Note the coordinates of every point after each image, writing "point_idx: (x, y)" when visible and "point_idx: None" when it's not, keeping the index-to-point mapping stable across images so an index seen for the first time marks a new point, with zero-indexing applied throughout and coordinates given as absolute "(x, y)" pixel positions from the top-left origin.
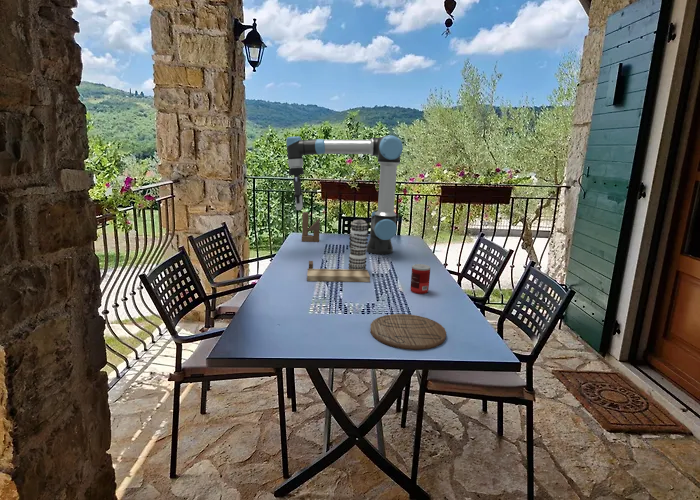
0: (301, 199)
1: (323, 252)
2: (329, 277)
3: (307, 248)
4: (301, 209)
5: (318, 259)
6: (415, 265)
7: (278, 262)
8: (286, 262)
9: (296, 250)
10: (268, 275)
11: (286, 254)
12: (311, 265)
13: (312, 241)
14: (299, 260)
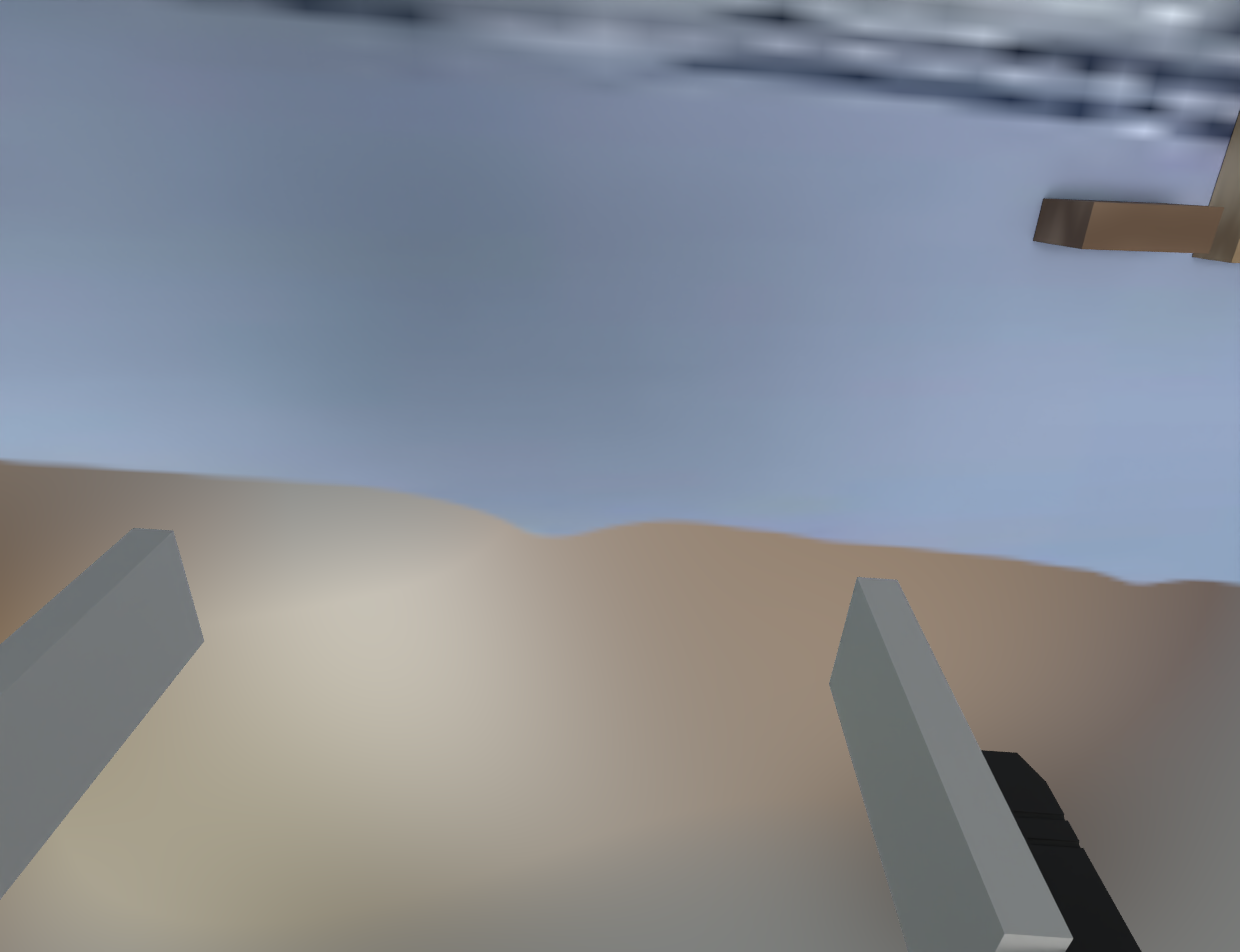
0: (3, 717)
1: (362, 28)
2: None
3: (201, 234)
4: (896, 584)
5: (694, 117)
6: None
7: (790, 511)
8: (795, 446)
9: (325, 361)
10: (1145, 560)
11: (507, 455)
12: (1207, 222)
13: None
14: (730, 329)
